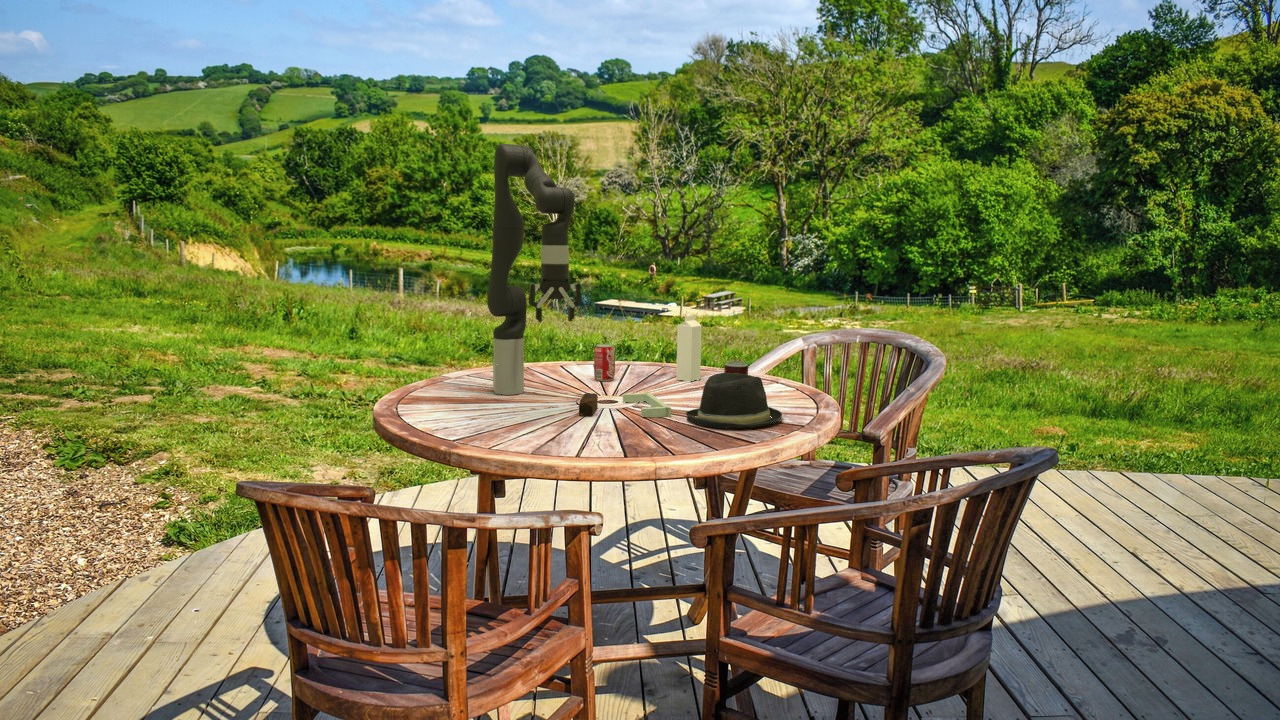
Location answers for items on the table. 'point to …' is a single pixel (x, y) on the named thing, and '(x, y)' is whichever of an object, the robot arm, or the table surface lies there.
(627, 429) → the table surface
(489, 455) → the table surface
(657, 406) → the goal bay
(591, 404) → the brick
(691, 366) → the milk
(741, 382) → the fedora
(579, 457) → the table surface
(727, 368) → the soda can
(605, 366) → the soda can
